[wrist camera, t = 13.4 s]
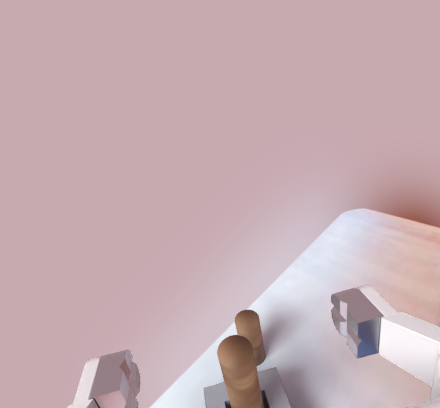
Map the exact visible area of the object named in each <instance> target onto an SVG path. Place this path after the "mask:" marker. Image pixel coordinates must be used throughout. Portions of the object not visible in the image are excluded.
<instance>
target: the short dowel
mask: <svg viewBox="0 0 440 408" xmlns="http://www.w3.org/2000/svg"><path fill="white" fill-rule="evenodd" d="M235 324H236V329H237V333H238V335H240V336H244V337H246V338H247V339H248V340H249V341H250V342H251V344H252V347H253V352H254V358H255V363H256V366H258V365H260V364H261V363H262V362H263V361H264V359H265V351H264V345H263V339H262V333H261V327H260V321H259V316H258V314H257V313H256V312H254V311H252V310H244V311H241V312H240V313H238V314H237V316H236V317H235Z"/></svg>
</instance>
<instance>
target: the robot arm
mask: <svg viewBox="0 0 440 408" xmlns="http://www.w3.org/2000/svg"><path fill="white" fill-rule="evenodd" d="M331 302H332V304H333V305H334V307H333V309H332V310H331V312H332V319H333V322H334V325H335V327H336V329H337V330H338V332H339V333H340V334H341V335H343V336H345V337H347V345H348V346H349V348H350V349H351V350H352V352H353V353H354V355H355V356H356V358H361V357H365V356H369V355H373V354H377V353H379V355H381V356H382V357H384V358H386V359H387V360H389V361H390V362H392V363H393V364H395V365H397V366H398V367H400V368H401V369H403V370H405V371H406V372H408V373H409V374H411V375H412V376H414V377H416V378H417V379H419V380H420V381H422V382H424V383H425V384H427V385H428V386H430V387H431V388H432V389H431V394H430V400H429V401H427V402H424V403H421V404H417V405H414V406H411V407H408V408H440V327H439V326H437V325H434V324H432V323H429V322H426V321H424V320H421V319H419V318H416V317H414V316H411V315H409V314H406V313H404V312H399V313H398V312H397V311H396V310H395V309H394V308H393V307H392V306H391V305H390V304H389V303H388V302H387V301H386V300H385V299H384V298H383V297H382V296H381V295H379V294H378V293H377V292H376V291H375V290H374V289H373V288H372V287H371V286H370V285H368V284H367V285H363V286H360V287H356V288H352V289H349V290H345V291H342V292H338V293H335V294H332V296H331ZM132 358H133V355H132V353H131V351H130V350H125V351H121V352H117V353H113V354H109V355H105V356H101V357H97V358H94V359H89V360H88V361H87V362H86V364H85V367H84V370H83V374H82V376H81V380H80V383H79V386H78V389H77V393H76V396H75V399H74V403H73V404H72V405H69V406H68V407H67V408H138V401H137V399H136V396H137V394H138V393H139V391H140V374H139V370H138V367H137V364H135V363H133V362H132Z"/></svg>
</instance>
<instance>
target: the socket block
mask: <svg viewBox="0 0 440 408" xmlns="http://www.w3.org/2000/svg"><path fill="white" fill-rule="evenodd" d="M257 374H258V379H259V384H260V390H261V395H262V400H263V405H264V408H291V406H290V403H289V400H288V398H287V395H286V393H285V390H284V387H283V385H282V382H281V379H280V377H279V374H278V372H277V369H276V367H275V368H272V369H268V370H265V371H262V372H258V373H257ZM204 396H205V405H206V408H231V404H230V400H229V396H228V392H227V389H226V385H225V382H223V383H220V384H216V385H213V386H209V387H206V388H204Z"/></svg>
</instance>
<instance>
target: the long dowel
mask: <svg viewBox="0 0 440 408" xmlns="http://www.w3.org/2000/svg"><path fill="white" fill-rule="evenodd" d="M217 354H218V358H219V362H220V366H221V370H222V373H223V377H224V381H225V385H226V389H227V392H228V396H229V400H230V404H231V408H264V405H263V400H262V395H261V390H260V384H259V379H258V374H257V368H256V363H255V358H254V352H253V347H252V344H251V342H250V341H249V340H248V339H247V338H246V337H244V336H240V335H233V336H230V337H227V338H226V339H224V340H223V341H222V342H221V343H220V345H219V347H218V351H217Z"/></svg>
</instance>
